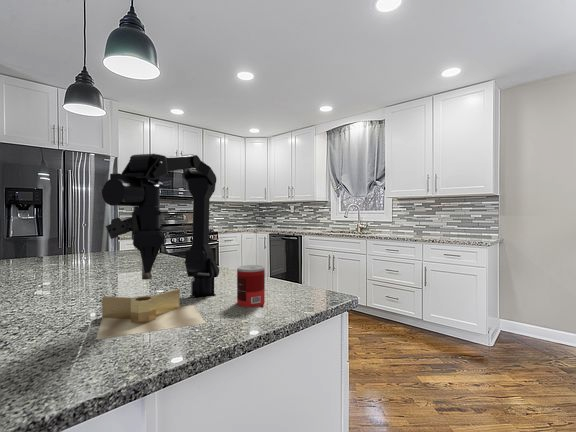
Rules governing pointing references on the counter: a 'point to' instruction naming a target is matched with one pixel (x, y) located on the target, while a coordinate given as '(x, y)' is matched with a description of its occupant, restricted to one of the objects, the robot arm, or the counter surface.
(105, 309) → the spoked octagonal hub
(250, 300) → the canned food
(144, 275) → the pin
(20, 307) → the counter surface
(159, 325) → the mounting board
